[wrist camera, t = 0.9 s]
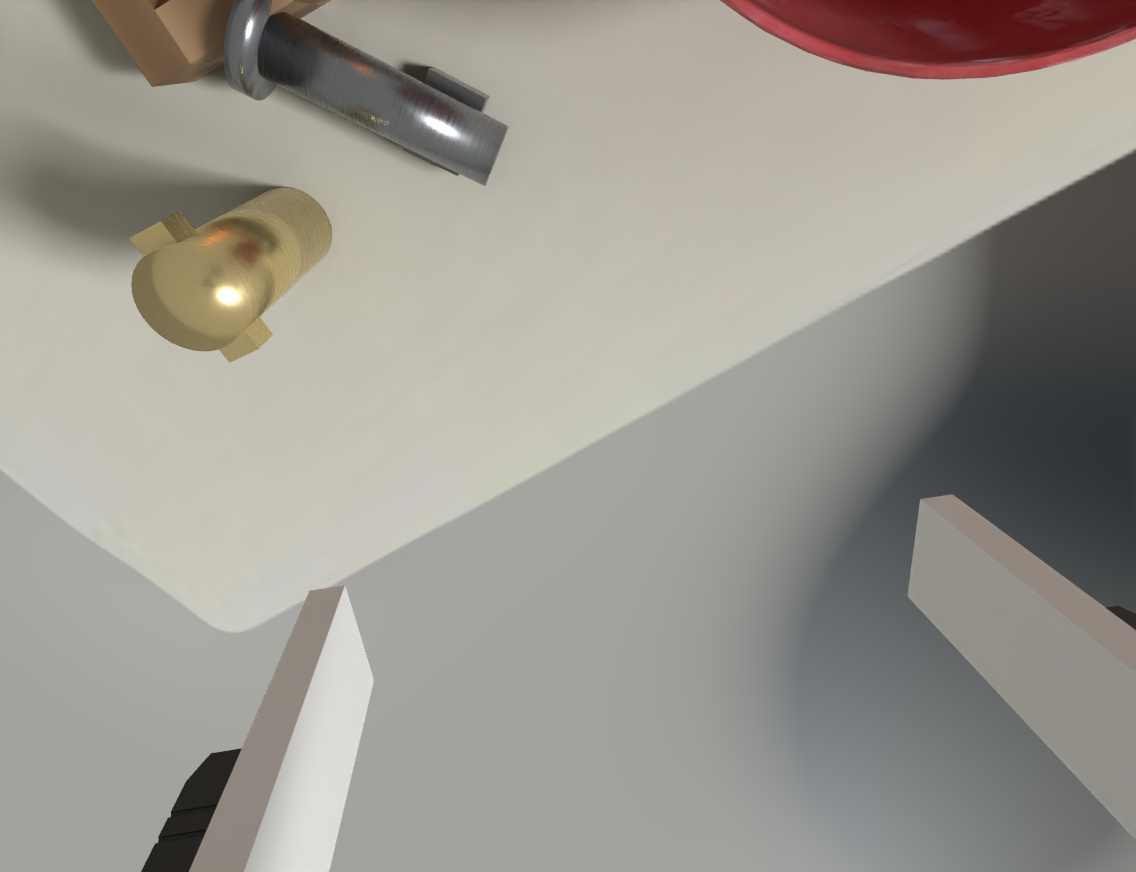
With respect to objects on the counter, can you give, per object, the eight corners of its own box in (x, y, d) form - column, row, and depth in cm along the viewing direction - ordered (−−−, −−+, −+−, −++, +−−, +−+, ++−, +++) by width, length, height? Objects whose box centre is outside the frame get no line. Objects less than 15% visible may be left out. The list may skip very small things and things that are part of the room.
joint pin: (291, 158, 35) (179, 209, 24) (355, 259, 38) (279, 342, 27) (226, 194, 36) (91, 257, 25) (293, 289, 38) (197, 381, 28)
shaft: (264, 85, 33) (214, 93, 28) (286, -23, 30) (236, -34, 26) (484, 192, 36) (472, 215, 31) (519, 100, 33) (513, 110, 29)
